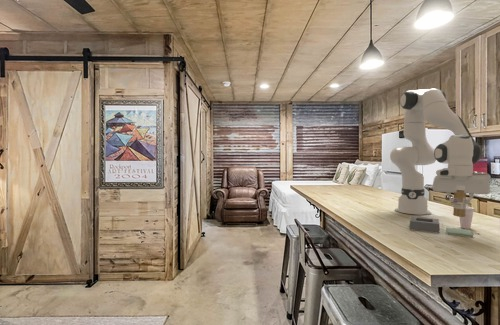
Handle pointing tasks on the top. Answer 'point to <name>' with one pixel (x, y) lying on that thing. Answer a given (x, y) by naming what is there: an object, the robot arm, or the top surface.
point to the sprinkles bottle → (459, 202)
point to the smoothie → (467, 218)
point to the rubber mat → (459, 232)
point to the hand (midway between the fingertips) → (459, 203)
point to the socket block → (424, 224)
